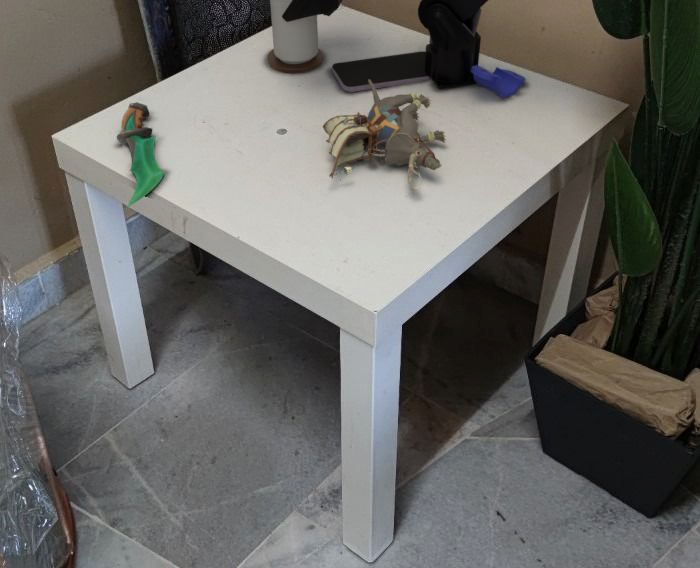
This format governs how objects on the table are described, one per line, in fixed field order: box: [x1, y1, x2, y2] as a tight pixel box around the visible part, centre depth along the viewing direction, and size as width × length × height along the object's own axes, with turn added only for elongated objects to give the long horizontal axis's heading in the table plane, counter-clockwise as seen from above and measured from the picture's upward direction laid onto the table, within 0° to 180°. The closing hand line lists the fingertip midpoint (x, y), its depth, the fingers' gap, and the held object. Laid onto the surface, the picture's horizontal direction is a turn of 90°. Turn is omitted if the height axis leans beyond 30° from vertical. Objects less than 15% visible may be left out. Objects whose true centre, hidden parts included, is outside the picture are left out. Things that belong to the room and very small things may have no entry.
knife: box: [116, 101, 165, 208], centre depth 113 cm, size 21×2×5 cm
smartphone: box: [331, 50, 432, 93], centre depth 129 cm, size 7×1×15 cm
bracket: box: [471, 64, 526, 99], centre depth 124 cm, size 9×5×3 cm, turn 129°
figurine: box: [322, 79, 447, 194], centre depth 112 cm, size 20×6×17 cm
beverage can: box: [269, 0, 319, 64], centre depth 128 cm, size 6×6×12 cm
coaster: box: [267, 48, 324, 74], centre depth 132 cm, size 8×8×1 cm
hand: (293, 4), depth 127 cm, fingers open, 9 cm apart
